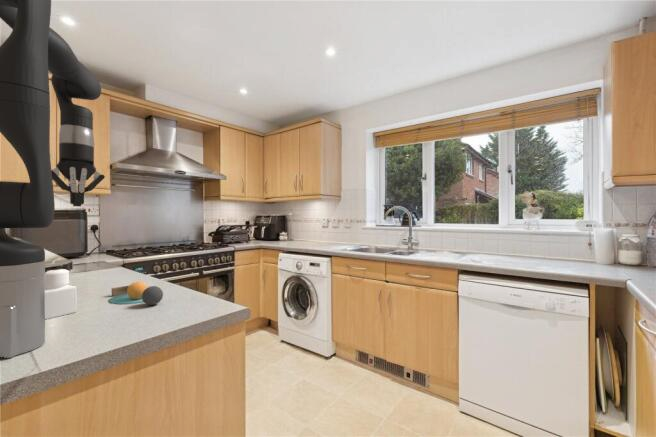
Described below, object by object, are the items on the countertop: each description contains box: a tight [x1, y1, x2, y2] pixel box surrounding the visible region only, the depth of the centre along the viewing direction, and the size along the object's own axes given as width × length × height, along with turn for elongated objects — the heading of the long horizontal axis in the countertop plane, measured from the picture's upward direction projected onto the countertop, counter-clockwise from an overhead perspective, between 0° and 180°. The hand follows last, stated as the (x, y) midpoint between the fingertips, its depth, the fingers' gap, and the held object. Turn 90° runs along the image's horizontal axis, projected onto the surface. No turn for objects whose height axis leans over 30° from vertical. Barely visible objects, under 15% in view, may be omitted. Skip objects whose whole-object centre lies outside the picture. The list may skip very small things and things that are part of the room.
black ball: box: [142, 285, 164, 306], centre depth 90 cm, size 6×6×6 cm
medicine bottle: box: [45, 267, 78, 321], centre depth 81 cm, size 7×7×12 cm
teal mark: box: [108, 294, 144, 305], centre depth 97 cm, size 14×14×1 cm
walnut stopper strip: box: [111, 285, 130, 297], centre depth 102 cm, size 9×1×2 cm, turn 139°
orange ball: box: [127, 281, 148, 300], centre depth 96 cm, size 6×6×6 cm
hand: (76, 206), depth 85 cm, fingers closed
